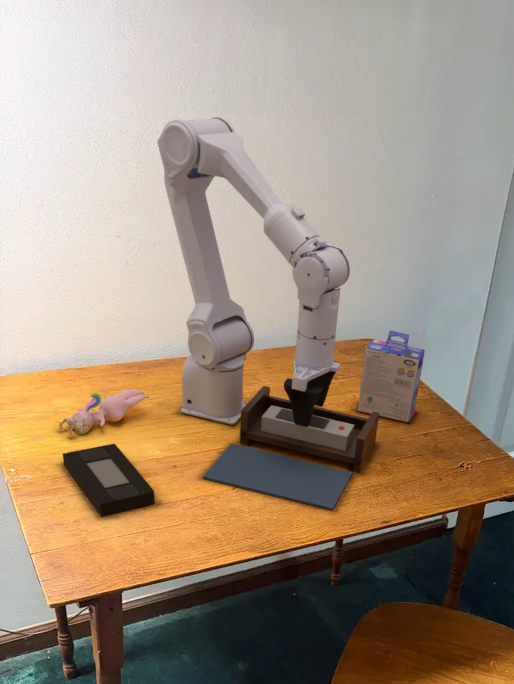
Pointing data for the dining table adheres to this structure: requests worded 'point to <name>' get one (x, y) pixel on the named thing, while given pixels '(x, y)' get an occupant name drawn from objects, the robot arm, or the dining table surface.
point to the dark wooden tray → (353, 454)
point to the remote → (308, 428)
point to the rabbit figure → (103, 410)
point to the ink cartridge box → (391, 378)
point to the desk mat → (279, 476)
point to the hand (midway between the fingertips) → (309, 414)
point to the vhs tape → (108, 479)
